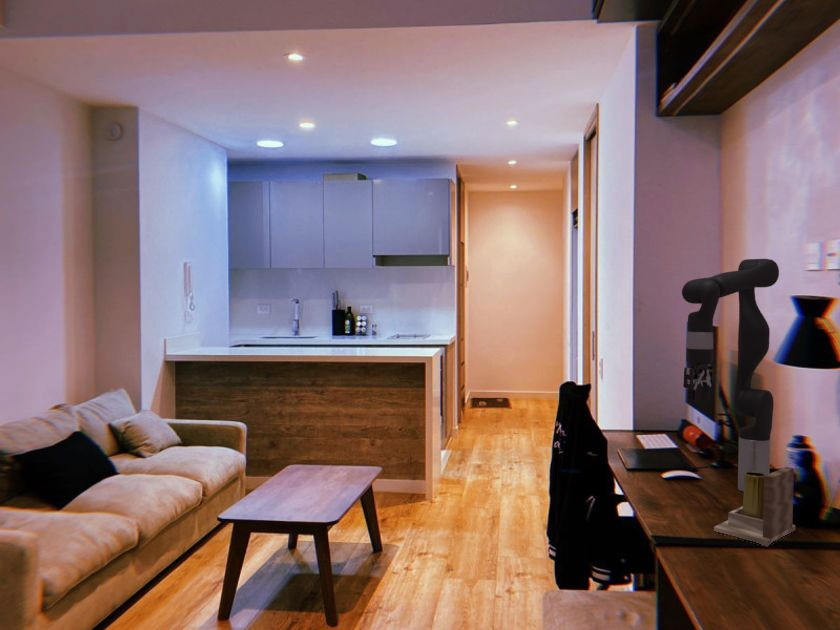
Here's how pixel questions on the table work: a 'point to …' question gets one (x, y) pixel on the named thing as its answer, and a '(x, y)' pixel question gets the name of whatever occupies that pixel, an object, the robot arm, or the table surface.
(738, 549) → the table surface
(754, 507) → the vase
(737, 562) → the table surface
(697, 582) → the table surface
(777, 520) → the post stand
